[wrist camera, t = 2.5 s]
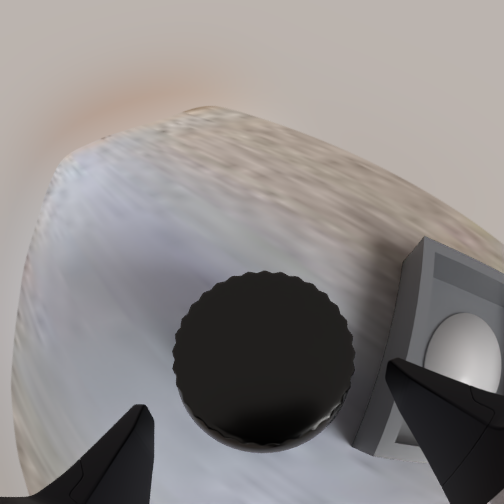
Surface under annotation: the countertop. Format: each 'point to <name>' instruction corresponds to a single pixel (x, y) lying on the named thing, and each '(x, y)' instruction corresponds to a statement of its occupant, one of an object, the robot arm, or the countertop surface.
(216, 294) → the supplement bottle
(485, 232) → the countertop surface
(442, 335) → the housing
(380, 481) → the countertop surface
